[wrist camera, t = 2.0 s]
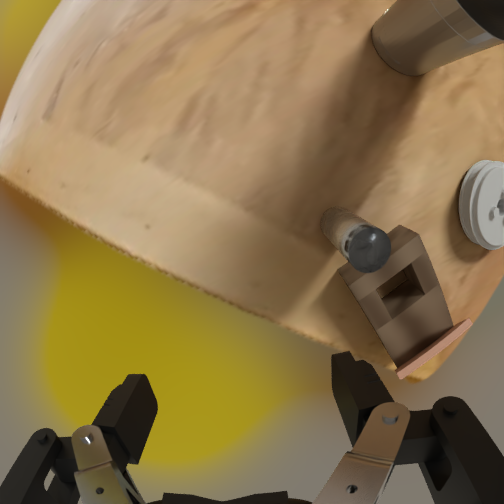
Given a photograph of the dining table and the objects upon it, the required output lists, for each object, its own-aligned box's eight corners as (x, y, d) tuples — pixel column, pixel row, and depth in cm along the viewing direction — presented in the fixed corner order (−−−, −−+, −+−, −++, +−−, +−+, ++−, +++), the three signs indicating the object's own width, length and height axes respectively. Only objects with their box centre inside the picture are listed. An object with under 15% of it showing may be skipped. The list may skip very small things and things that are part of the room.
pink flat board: (468, 317, 27) (472, 324, 26) (456, 324, 32) (459, 329, 32) (396, 373, 29) (400, 379, 28) (394, 370, 34) (397, 375, 34)
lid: (496, 249, 35) (515, 259, 30) (446, 234, 34) (466, 244, 29) (511, 174, 31) (532, 178, 26) (462, 147, 30) (485, 148, 26)
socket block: (399, 224, 34) (418, 234, 29) (437, 310, 37) (453, 326, 32) (337, 269, 35) (348, 285, 31) (385, 348, 39) (397, 368, 34)
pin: (341, 200, 33) (378, 218, 22) (358, 227, 34) (397, 255, 23) (314, 219, 34) (339, 245, 23) (331, 246, 35) (362, 281, 24)
